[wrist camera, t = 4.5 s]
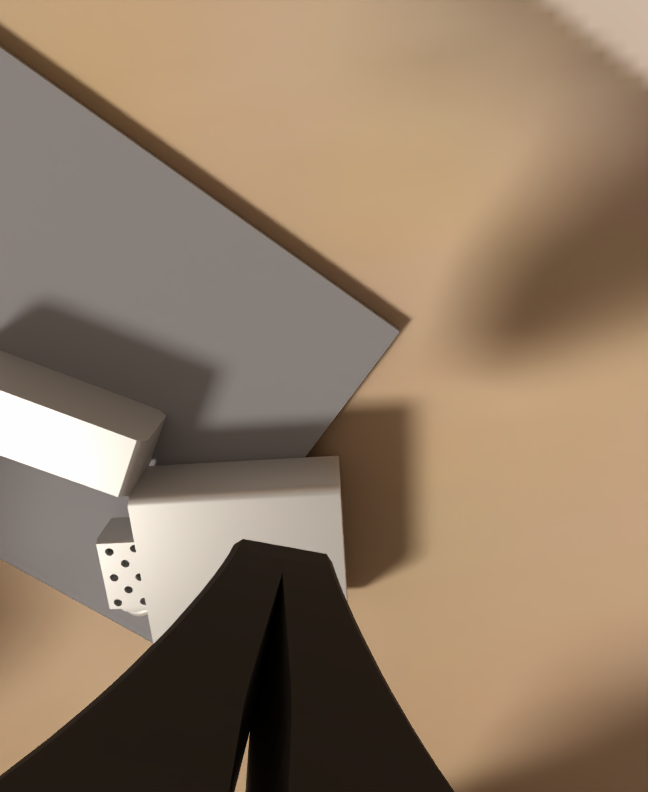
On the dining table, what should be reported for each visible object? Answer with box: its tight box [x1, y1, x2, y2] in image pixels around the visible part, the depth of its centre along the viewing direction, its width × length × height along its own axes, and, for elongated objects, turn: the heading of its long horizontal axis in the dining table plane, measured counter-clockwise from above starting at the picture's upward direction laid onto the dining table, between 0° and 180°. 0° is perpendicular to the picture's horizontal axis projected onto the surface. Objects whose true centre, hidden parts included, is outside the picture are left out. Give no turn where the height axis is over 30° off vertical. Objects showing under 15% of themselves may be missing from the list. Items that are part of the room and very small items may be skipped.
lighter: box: [0, 350, 348, 644], centre depth 13 cm, size 7×2×8 cm
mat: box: [0, 46, 400, 643], centre depth 13 cm, size 10×10×1 cm
